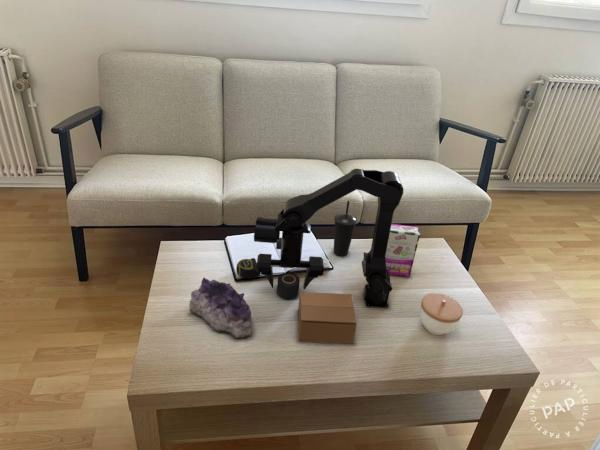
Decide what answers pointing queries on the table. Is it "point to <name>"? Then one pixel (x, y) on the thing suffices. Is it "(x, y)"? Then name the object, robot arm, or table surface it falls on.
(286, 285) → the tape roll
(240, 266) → the tape measure
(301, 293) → the flap
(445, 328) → the trinket box
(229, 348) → the table surface
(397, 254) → the candy bar box
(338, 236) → the drinking cup
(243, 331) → the geode
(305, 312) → the carton
